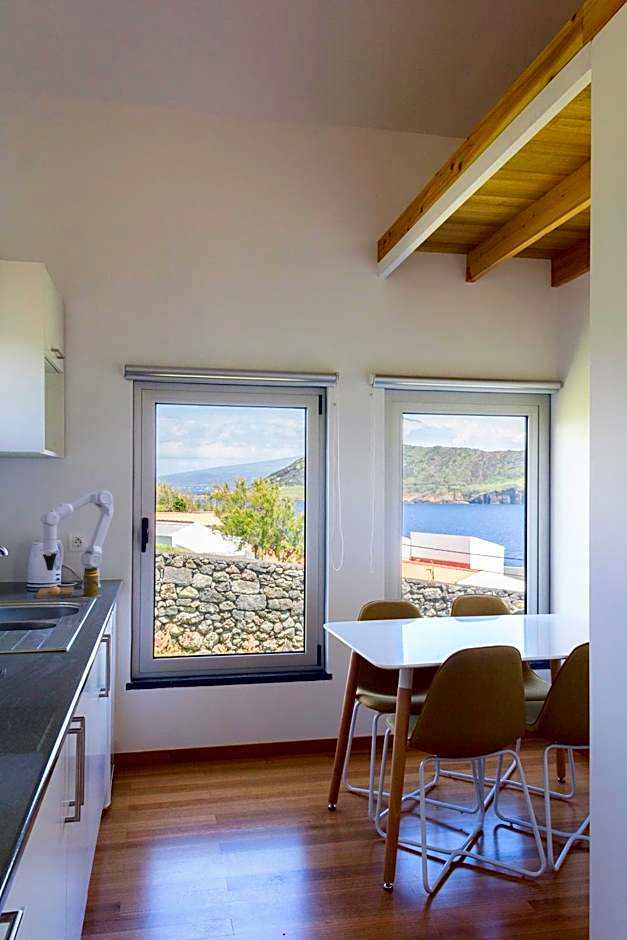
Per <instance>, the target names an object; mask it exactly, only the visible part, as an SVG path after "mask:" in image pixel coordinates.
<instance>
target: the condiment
mask: <svg viewBox="0 0 627 940" xmlns="http://www.w3.org/2000/svg"><path fill="white" fill-rule="evenodd" d="M84 570H85V571H84V573H85V574H84V577H83V576H82V579H83V578H84V582H83V581H82V584H83V583H84V589H83V594H81V595H80V594H76V595H75V597H78V598H80V599H87V598H96V597H97V598H98V597H102V595H100V594H99V588H98V574H97V568H96V567H87V568H85V569H84Z"/></svg>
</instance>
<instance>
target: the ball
mask: <svg viewBox="0 0 627 940" xmlns="http://www.w3.org/2000/svg"><path fill="white" fill-rule="evenodd" d="M50 588H51V591H50V592H51V594H59V593H60V588H61V587H59V586H52V587H50Z"/></svg>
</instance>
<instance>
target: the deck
mask: <svg viewBox="0 0 627 940" xmlns="http://www.w3.org/2000/svg"><path fill="white" fill-rule="evenodd" d="M51 588H52V587H45V588H40V589H39V590H38V592H37V593H36V595H35V599H36V598H42V599H62V598H63V599H64V598H66V599H67V598H68V599H69V598H72V596H73V594H74V592H75V587H71V586H70V587H69V586H68V587H59V588H60V593H59V594H51V592H50V591H51Z"/></svg>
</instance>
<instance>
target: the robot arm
mask: <svg viewBox="0 0 627 940" xmlns="http://www.w3.org/2000/svg"><path fill="white" fill-rule="evenodd" d="M113 501H114V496H113V495H112V493H111V492H110V491H108V490H99V489H96V490H94V491H92V492H89V493H87V494H85V495H83V496H82V497H81V496H80V498H78V499H76V500H75V501H73V502H71V503H68V502H67V503H66V502H65V503H63V502H61V503H60V505H59V506H57V507H55V508H50V511H45V512H44V513H43V514H42V515H41V517H40V521H41V523H42V548H41V549H40V550H39V552H43V554H42V557H43V560H44V561H45V567H46V571H53V570H54V564H55V560H56V557H57V555H58V553H57V552H58V540H57V539H58V537H57V536H58V534H57V533H58V530H57V529H58V527H57V525H58V523H59V522H61V520H64V519H66V518H67V517H70V516H71V515H72V514H73V512H74V511H76V510H78V509H79V508H81V507H83V506H86V505H88V504H94V505H95V506H96V507H97V508H98V510H99V512H100V515H99V518H98V520H97V523H96V526H95V529H94V532H93V535H92V538H91V541H90V544H89V545H88V547H87V548H85V550H84V552H83V554H82V555H81V556H80V563H81V564H82V585H81V589H82V590H84V583H83V582H84V578H83V577H84V574H85V573H84V571H85V570H84V569H85V568H87V567H96V568H97V574H98V589H101V586H102V585H101V583H100V581H101V580H100V576H101V575H100V571H101V570H100V566H101V564H102V561H103V559H102V556H103V549H102V547H103V544H104V543H105V542H104V541H105V538H106V535H107V532H108V529H109V528H110V524H111V522H112V519H113V515H114V513H115V510H114V509H115V508H114V502H113Z"/></svg>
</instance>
